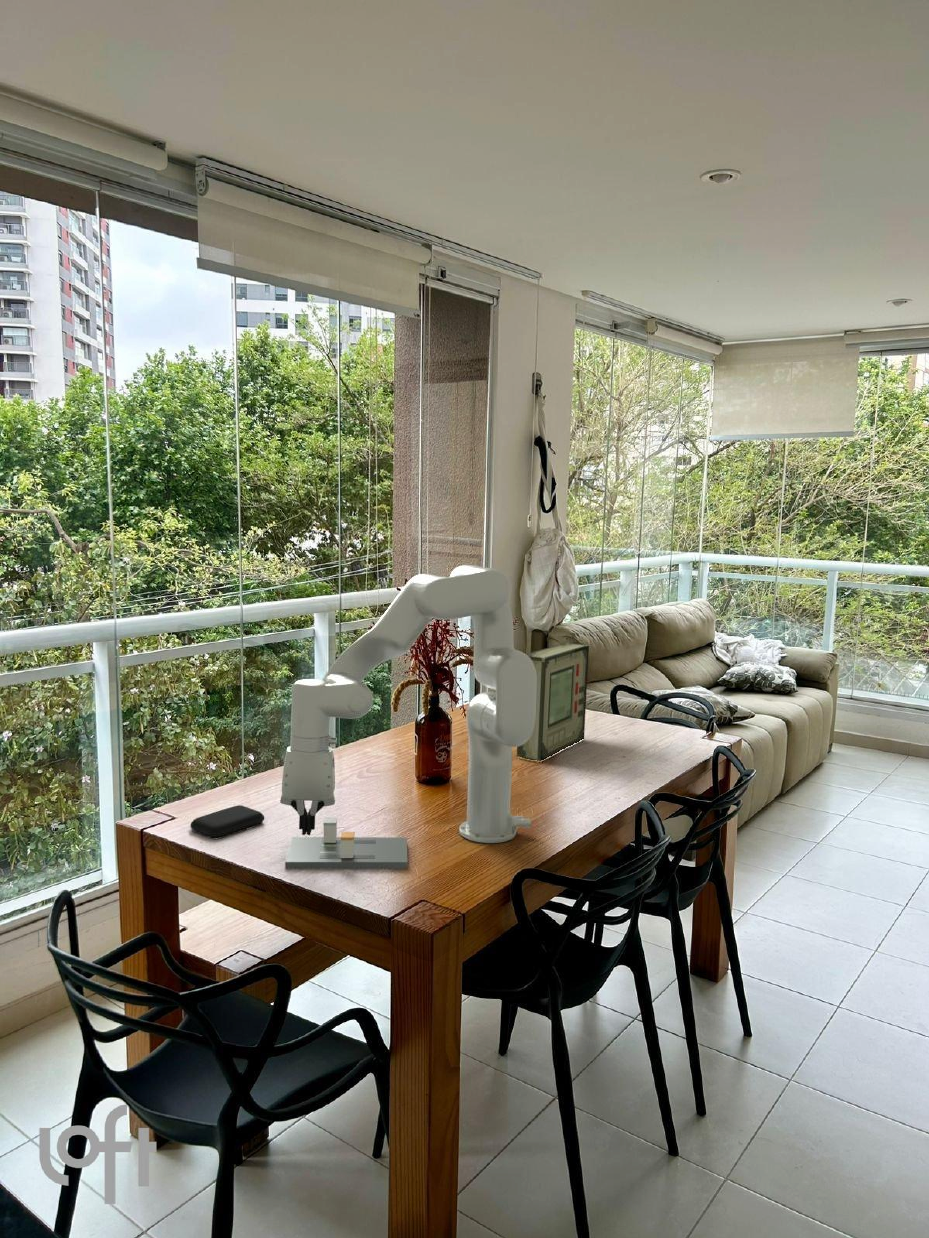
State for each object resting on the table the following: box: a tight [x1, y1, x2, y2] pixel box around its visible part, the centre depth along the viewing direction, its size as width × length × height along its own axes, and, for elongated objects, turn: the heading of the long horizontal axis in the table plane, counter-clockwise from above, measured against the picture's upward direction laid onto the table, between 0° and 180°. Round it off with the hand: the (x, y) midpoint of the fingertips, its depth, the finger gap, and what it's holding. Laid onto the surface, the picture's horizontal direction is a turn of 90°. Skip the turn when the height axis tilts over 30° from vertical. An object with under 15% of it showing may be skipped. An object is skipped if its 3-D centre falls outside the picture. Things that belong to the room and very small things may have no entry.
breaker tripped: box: [340, 831, 355, 858], centre depth 181 cm, size 3×3×4 cm
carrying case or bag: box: [189, 804, 265, 839], centre depth 199 cm, size 11×3×15 cm
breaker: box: [323, 816, 338, 843], centre depth 188 cm, size 3×3×4 cm
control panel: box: [516, 642, 590, 761], centre depth 268 cm, size 30×8×30 cm, turn 148°
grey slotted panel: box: [284, 836, 408, 870], centre depth 185 cm, size 24×13×2 cm, turn 94°
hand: (306, 832), depth 179 cm, fingers closed
